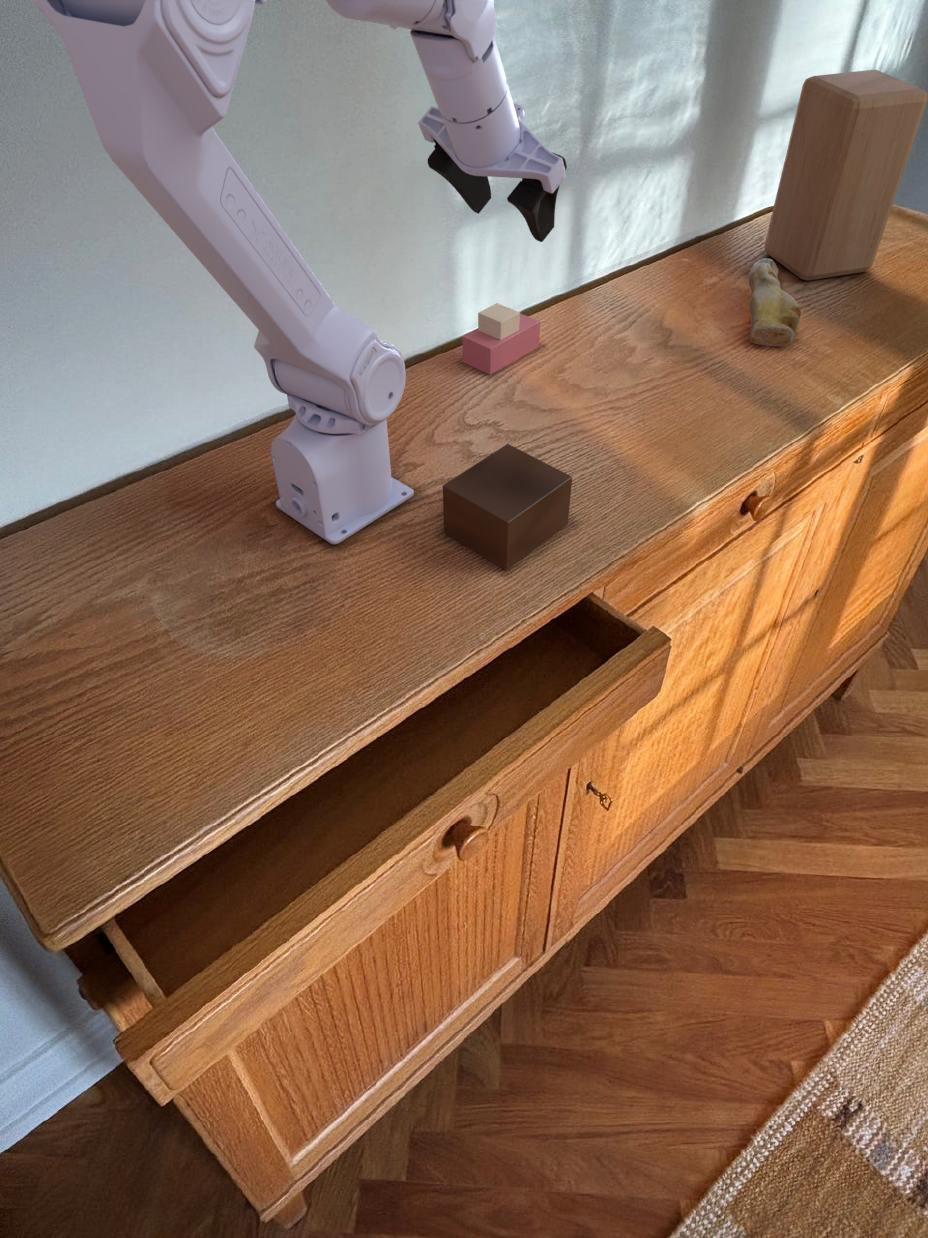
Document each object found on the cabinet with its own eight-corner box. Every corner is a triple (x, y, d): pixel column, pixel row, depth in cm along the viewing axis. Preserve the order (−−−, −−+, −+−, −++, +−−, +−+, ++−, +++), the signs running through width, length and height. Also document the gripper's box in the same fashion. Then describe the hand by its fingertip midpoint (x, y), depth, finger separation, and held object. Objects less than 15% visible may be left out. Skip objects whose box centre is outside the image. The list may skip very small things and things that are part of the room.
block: (759, 251, 112) (801, 74, 98) (826, 241, 114) (877, 66, 100) (802, 284, 105) (854, 98, 91) (873, 273, 107) (935, 89, 93)
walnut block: (506, 571, 70) (507, 522, 66) (443, 533, 73) (442, 485, 69) (568, 524, 74) (572, 476, 70) (506, 490, 77) (507, 443, 74)
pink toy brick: (490, 375, 91) (490, 330, 87) (462, 362, 93) (461, 317, 89) (539, 347, 95) (541, 303, 91) (511, 335, 97) (512, 292, 93)
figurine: (813, 331, 92) (802, 253, 101) (772, 309, 91) (764, 232, 100) (781, 366, 96) (772, 288, 105) (740, 346, 95) (735, 268, 104)
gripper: (575, 81, 66) (601, 212, 78) (436, 33, 72) (480, 161, 84) (519, 152, 65) (554, 272, 78) (384, 97, 71) (436, 216, 83)
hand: (513, 218), depth 81 cm, fingers open, 7 cm apart
